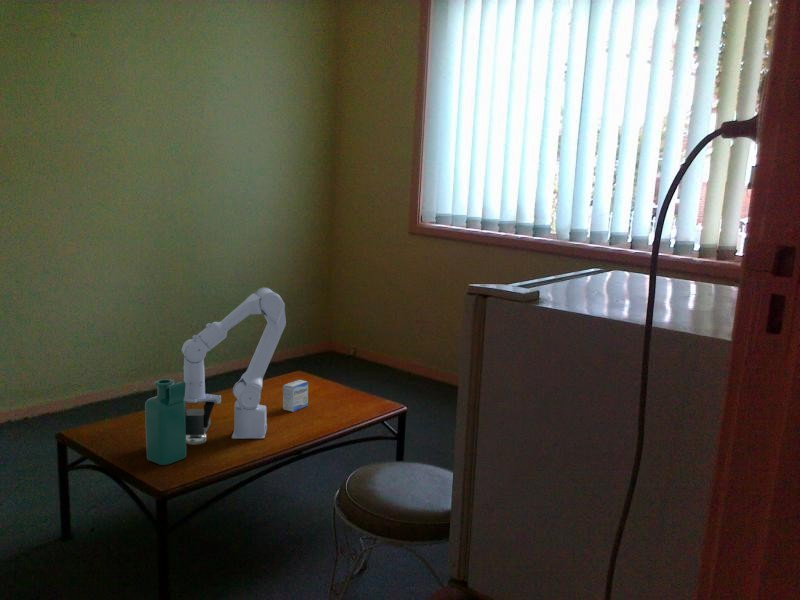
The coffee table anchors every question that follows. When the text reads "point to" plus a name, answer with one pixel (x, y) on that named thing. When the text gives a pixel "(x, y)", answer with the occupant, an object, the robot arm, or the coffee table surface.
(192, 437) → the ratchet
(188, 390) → the robot arm
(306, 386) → the medicine box
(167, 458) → the teal green bottle
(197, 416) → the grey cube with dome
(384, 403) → the coffee table surface
